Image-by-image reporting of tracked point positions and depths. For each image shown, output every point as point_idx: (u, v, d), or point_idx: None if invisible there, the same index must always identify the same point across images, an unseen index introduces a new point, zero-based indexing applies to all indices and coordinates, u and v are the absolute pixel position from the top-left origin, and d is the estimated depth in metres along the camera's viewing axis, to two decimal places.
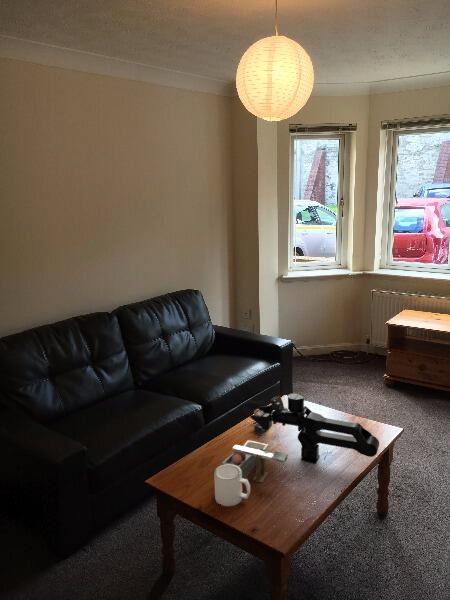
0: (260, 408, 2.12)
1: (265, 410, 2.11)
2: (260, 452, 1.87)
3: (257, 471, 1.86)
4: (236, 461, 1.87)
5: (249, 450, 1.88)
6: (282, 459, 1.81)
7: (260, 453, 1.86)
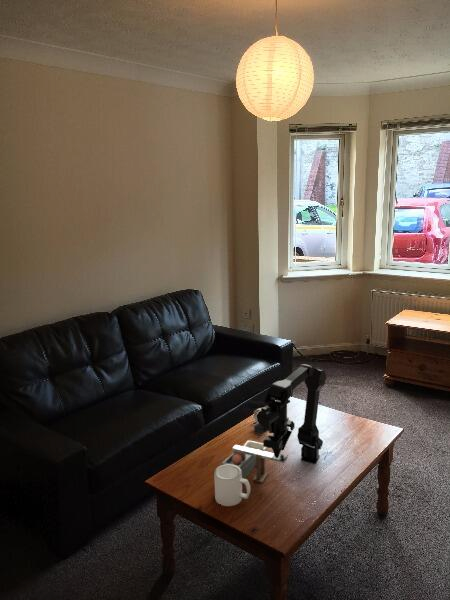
0: (281, 447, 1.85)
1: (283, 442, 1.84)
2: (260, 452, 1.87)
3: (257, 471, 1.86)
4: (236, 461, 1.87)
5: (249, 450, 1.88)
6: (282, 459, 1.81)
7: (260, 453, 1.86)
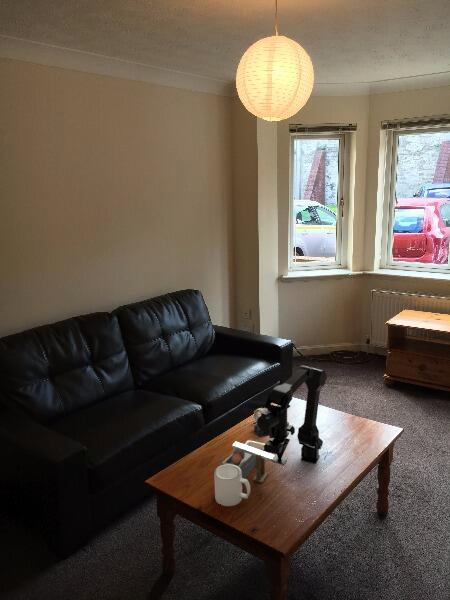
0: None
1: None
2: (260, 452, 1.87)
3: (257, 471, 1.86)
4: (236, 461, 1.87)
5: (249, 449, 1.88)
6: (282, 462, 1.81)
7: (260, 453, 1.86)
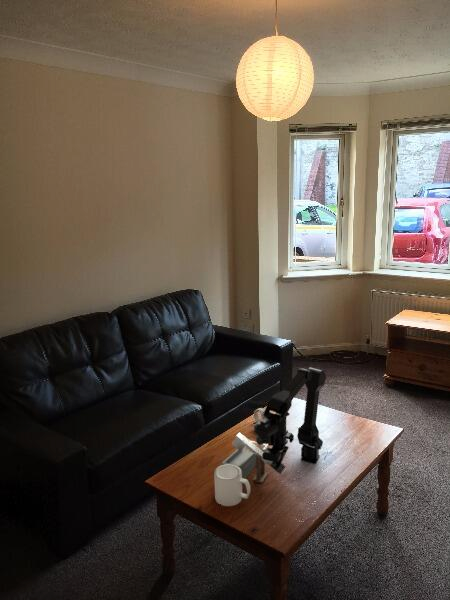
0: None
1: None
2: (261, 452, 1.86)
3: (257, 471, 1.86)
4: None
5: (251, 445, 1.87)
6: (280, 471, 1.82)
7: (261, 454, 1.86)
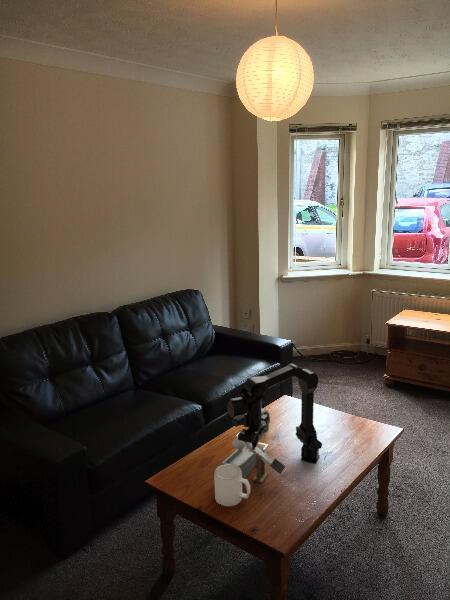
0: None
1: None
2: (261, 452, 1.86)
3: (257, 471, 1.86)
4: None
5: (251, 445, 1.87)
6: (280, 471, 1.82)
7: (261, 454, 1.86)
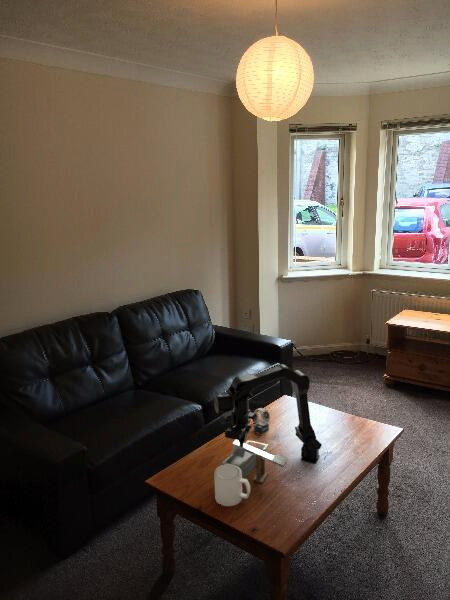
0: None
1: None
2: (260, 452, 1.87)
3: (257, 471, 1.86)
4: None
5: (249, 448, 1.88)
6: (282, 464, 1.81)
7: (260, 453, 1.86)
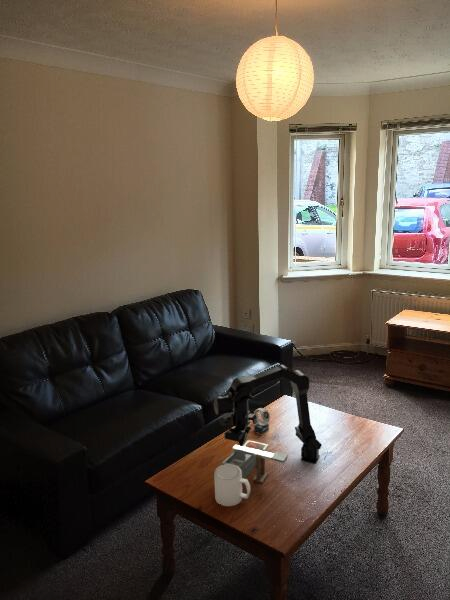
0: None
1: None
2: (260, 452, 1.87)
3: (257, 471, 1.86)
4: None
5: (249, 450, 1.88)
6: (282, 459, 1.81)
7: (260, 453, 1.86)
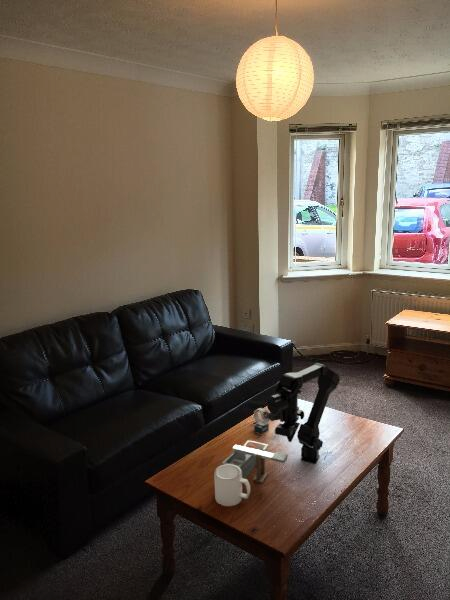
0: None
1: None
2: (260, 452, 1.87)
3: (257, 471, 1.86)
4: None
5: (249, 450, 1.88)
6: (282, 459, 1.81)
7: (260, 453, 1.86)
